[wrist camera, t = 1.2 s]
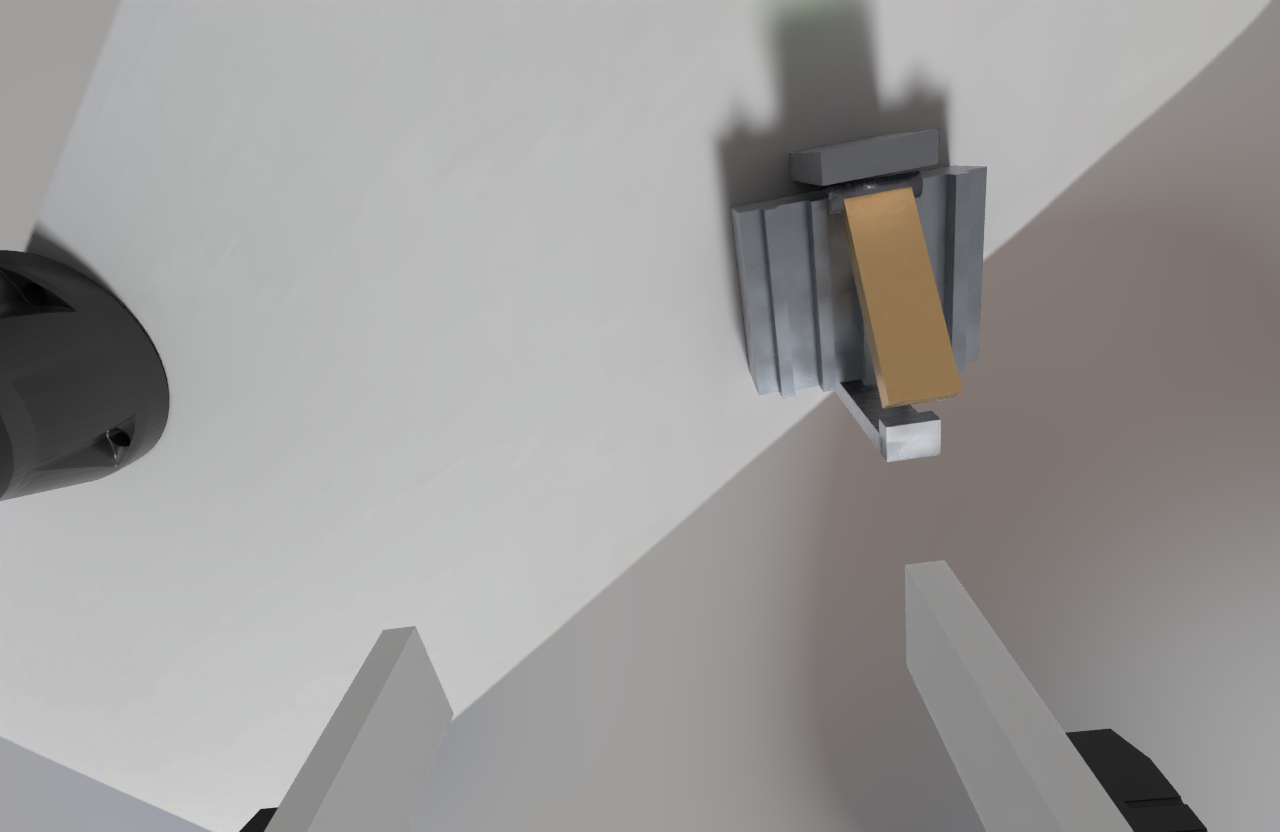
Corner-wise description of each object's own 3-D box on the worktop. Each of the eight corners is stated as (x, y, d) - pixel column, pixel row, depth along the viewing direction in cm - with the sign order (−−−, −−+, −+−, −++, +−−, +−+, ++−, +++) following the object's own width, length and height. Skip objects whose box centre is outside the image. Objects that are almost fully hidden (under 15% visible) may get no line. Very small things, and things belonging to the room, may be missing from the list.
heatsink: (752, 393, 38) (783, 476, 28) (725, 165, 33) (752, 169, 23) (945, 363, 37) (1049, 439, 27) (951, 121, 31) (1083, 104, 21)
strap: (870, 410, 26) (877, 405, 25) (824, 196, 28) (829, 182, 27) (964, 396, 26) (976, 390, 24) (910, 180, 28) (919, 165, 27)
